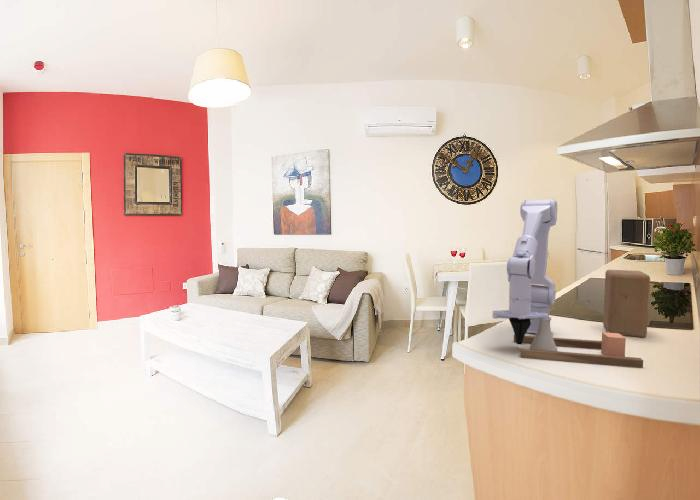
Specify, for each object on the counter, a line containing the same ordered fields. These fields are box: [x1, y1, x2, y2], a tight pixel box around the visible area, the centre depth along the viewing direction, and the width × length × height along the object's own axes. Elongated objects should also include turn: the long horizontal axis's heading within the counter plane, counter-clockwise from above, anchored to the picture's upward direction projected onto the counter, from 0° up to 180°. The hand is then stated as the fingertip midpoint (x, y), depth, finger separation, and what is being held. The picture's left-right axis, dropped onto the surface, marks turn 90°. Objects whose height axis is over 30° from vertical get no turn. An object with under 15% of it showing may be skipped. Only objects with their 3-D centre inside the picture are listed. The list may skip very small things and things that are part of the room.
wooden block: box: [602, 269, 651, 338], centre depth 113 cm, size 10×10×20 cm
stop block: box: [600, 331, 627, 357], centre depth 95 cm, size 4×4×6 cm
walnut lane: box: [513, 334, 644, 369], centre depth 97 cm, size 13×28×2 cm, turn 73°
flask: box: [529, 316, 558, 351], centre depth 99 cm, size 7×7×10 cm
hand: (518, 343), depth 101 cm, fingers closed
